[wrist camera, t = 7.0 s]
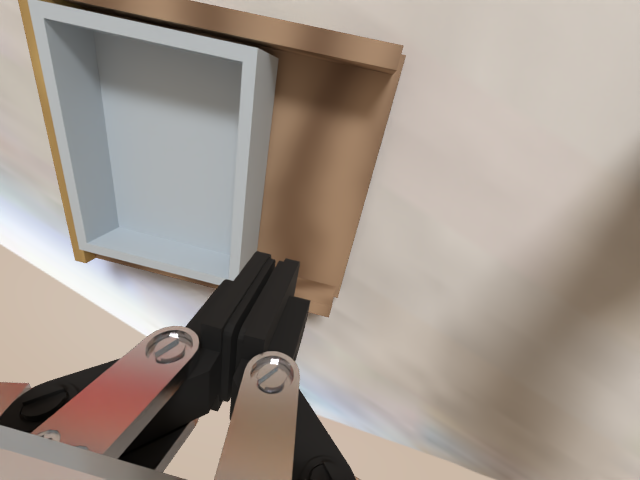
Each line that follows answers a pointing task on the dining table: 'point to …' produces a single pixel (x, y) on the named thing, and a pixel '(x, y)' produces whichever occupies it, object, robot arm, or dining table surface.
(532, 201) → the dining table surface
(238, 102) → the grey tray
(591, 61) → the dining table surface
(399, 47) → the bay
